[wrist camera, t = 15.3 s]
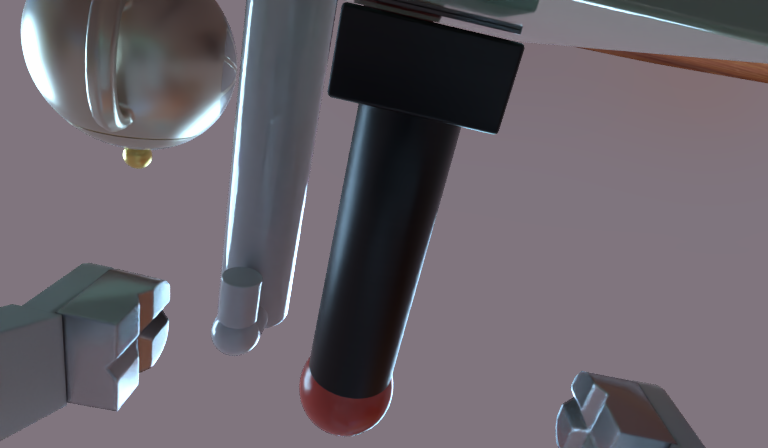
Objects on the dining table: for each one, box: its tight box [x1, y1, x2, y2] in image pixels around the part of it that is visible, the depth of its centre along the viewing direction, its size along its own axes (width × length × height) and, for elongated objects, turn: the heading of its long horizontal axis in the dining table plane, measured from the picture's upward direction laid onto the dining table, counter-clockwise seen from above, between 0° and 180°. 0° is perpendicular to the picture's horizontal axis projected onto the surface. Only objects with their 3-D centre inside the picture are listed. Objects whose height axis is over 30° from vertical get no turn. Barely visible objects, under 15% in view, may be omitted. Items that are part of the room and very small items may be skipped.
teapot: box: [21, 0, 237, 169], centre depth 33 cm, size 18×14×16 cm
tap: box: [211, 0, 768, 356], centre depth 14 cm, size 16×18×16 cm
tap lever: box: [299, 2, 524, 436], centre depth 14 cm, size 4×4×13 cm
